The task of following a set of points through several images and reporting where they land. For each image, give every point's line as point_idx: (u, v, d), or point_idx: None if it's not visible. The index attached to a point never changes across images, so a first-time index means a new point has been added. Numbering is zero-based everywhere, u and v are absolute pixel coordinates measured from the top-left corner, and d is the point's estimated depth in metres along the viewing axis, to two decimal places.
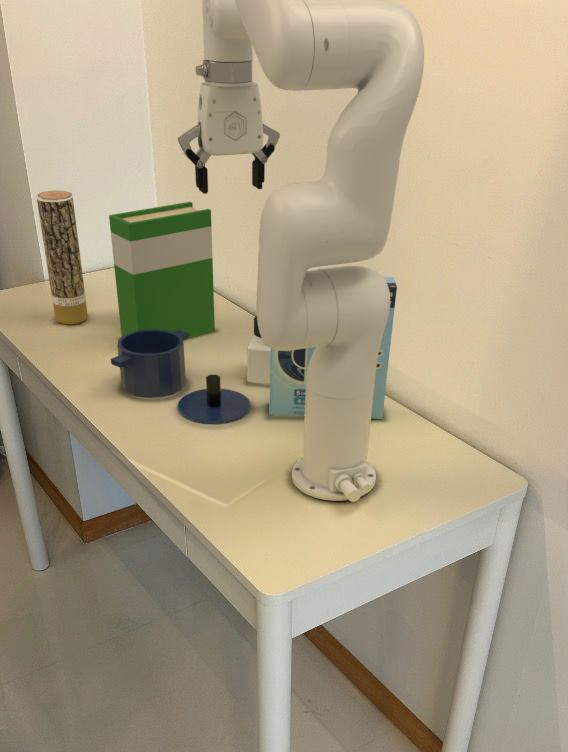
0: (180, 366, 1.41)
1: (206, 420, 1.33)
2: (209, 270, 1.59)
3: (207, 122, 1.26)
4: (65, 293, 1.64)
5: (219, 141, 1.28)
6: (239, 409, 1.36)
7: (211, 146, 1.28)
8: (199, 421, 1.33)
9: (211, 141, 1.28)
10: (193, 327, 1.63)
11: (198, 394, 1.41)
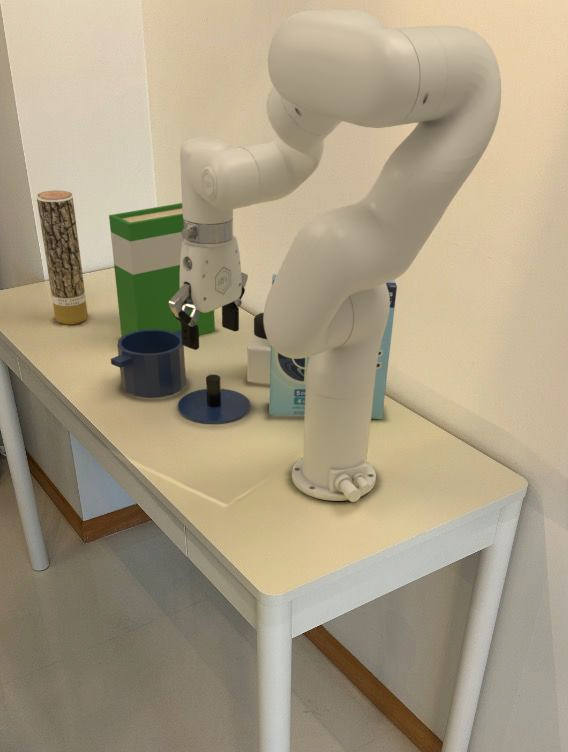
0: (180, 366, 1.41)
1: (206, 420, 1.33)
2: None
3: (201, 283, 1.20)
4: (65, 293, 1.64)
5: (211, 298, 1.23)
6: (239, 409, 1.36)
7: (205, 305, 1.23)
8: (199, 421, 1.33)
9: (205, 300, 1.22)
10: None
11: (198, 394, 1.41)
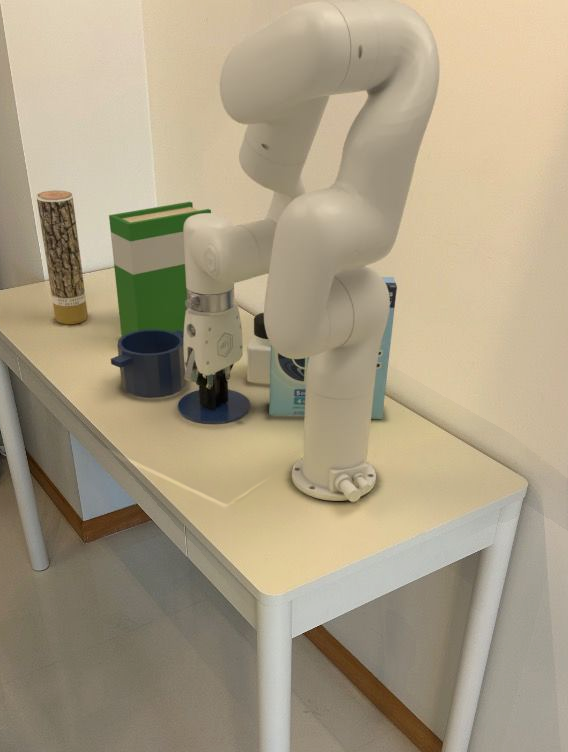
0: (180, 366, 1.41)
1: (206, 420, 1.33)
2: None
3: (204, 349, 1.26)
4: (65, 293, 1.64)
5: (214, 362, 1.29)
6: (239, 409, 1.36)
7: (208, 368, 1.29)
8: (199, 421, 1.33)
9: (208, 364, 1.28)
10: None
11: (198, 394, 1.41)
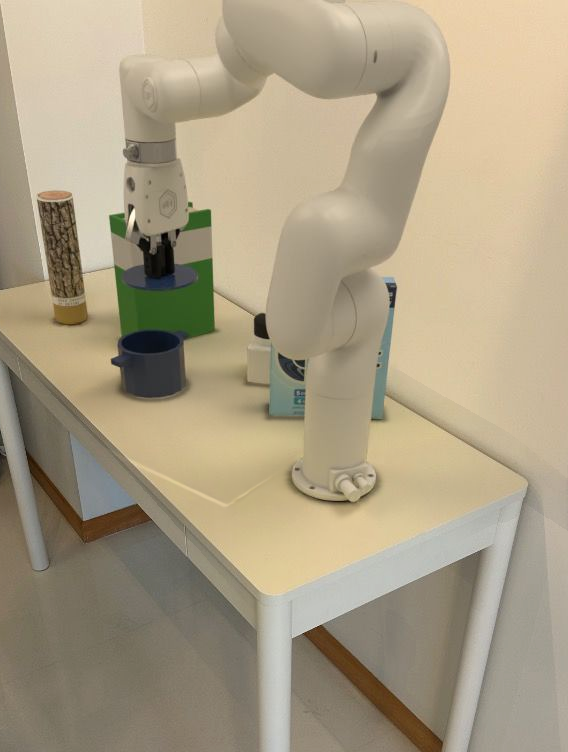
0: (180, 366, 1.41)
1: (149, 287, 1.27)
2: (209, 270, 1.59)
3: (144, 204, 1.20)
4: (65, 293, 1.64)
5: (156, 221, 1.22)
6: (185, 279, 1.30)
7: (150, 227, 1.22)
8: (142, 288, 1.27)
9: (149, 222, 1.22)
10: (193, 327, 1.63)
11: None
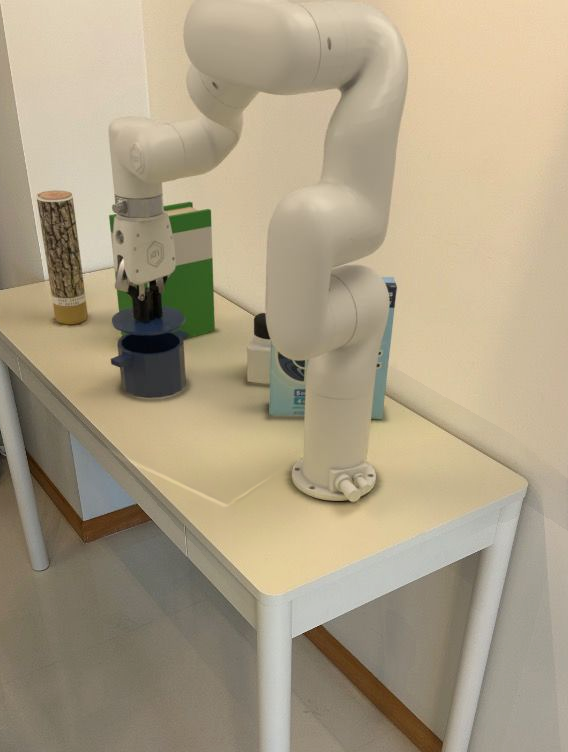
0: (180, 366, 1.41)
1: (138, 331, 1.33)
2: (209, 270, 1.59)
3: (133, 255, 1.26)
4: (65, 293, 1.64)
5: (144, 271, 1.29)
6: (172, 322, 1.37)
7: (138, 277, 1.29)
8: (131, 333, 1.33)
9: (137, 272, 1.28)
10: (193, 327, 1.63)
11: None
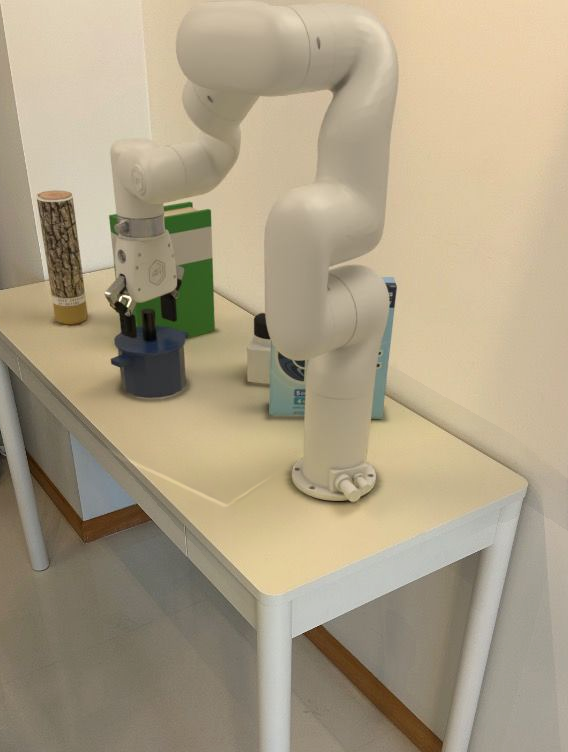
0: (180, 366, 1.41)
1: (140, 352, 1.35)
2: (209, 270, 1.59)
3: (135, 274, 1.28)
4: (65, 293, 1.64)
5: (146, 289, 1.31)
6: (174, 343, 1.39)
7: (140, 295, 1.30)
8: (133, 353, 1.35)
9: (139, 291, 1.30)
10: (193, 327, 1.63)
11: (136, 330, 1.43)
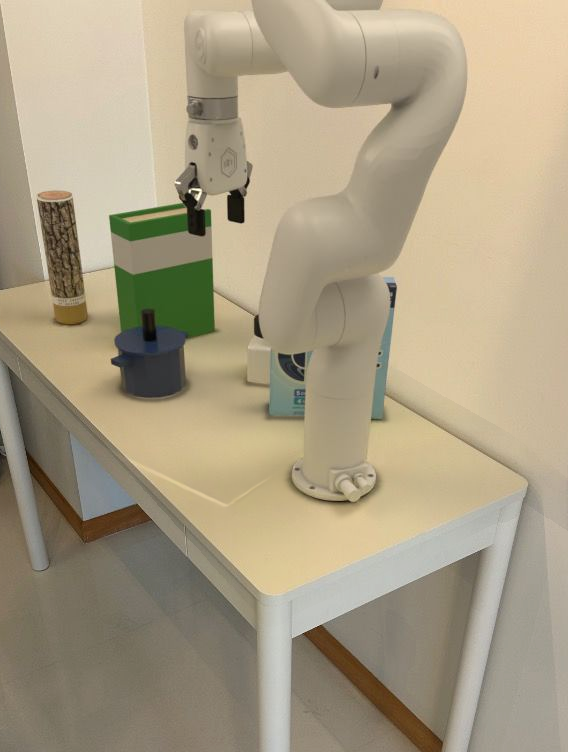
0: (180, 366, 1.41)
1: (140, 352, 1.35)
2: (209, 270, 1.59)
3: (207, 162, 1.19)
4: (65, 293, 1.64)
5: (217, 180, 1.22)
6: (174, 343, 1.39)
7: (211, 186, 1.21)
8: (133, 353, 1.35)
9: (211, 181, 1.21)
10: (193, 327, 1.63)
11: (136, 330, 1.43)
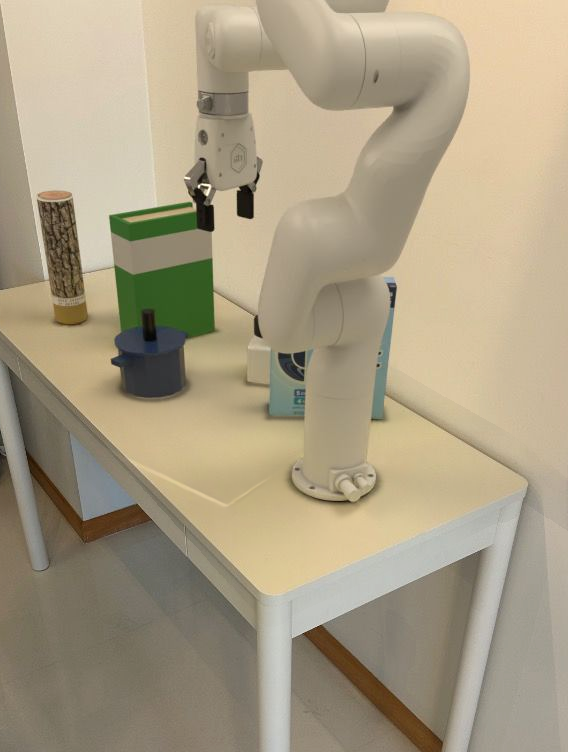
0: (180, 366, 1.41)
1: (140, 352, 1.35)
2: (209, 270, 1.59)
3: (217, 157, 1.19)
4: (65, 293, 1.64)
5: (227, 175, 1.22)
6: (174, 343, 1.39)
7: (221, 182, 1.21)
8: (133, 353, 1.35)
9: (220, 176, 1.21)
10: (193, 327, 1.63)
11: (136, 330, 1.43)
